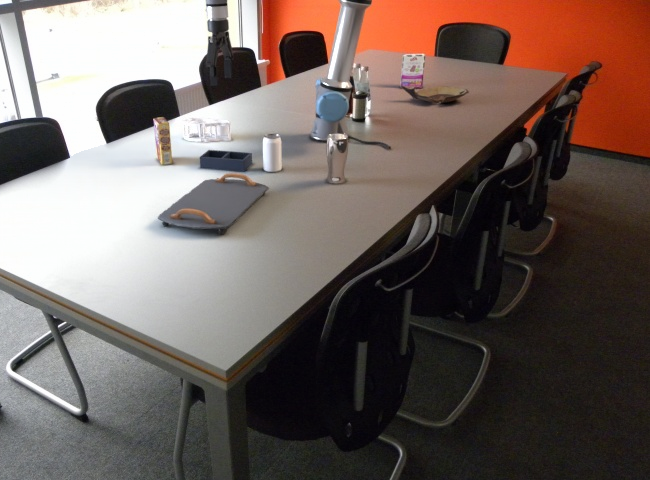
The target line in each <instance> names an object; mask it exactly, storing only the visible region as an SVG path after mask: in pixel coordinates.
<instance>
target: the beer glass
mask: <svg viewBox="0 0 650 480" xmlns="http://www.w3.org/2000/svg"><path fill="white" fill-rule="evenodd" d="M325 150H326V151H325V153H326V161H327V170H328V171H327V177H326V182H327V183H329V184H332V185H339V184H340V185H341V184H344V183H345V182H346V175H345V168H346V163H347V158H348V153H349V138H348V136H347V135H345V134H330V135H328V136H327V142H326V147H325Z"/></svg>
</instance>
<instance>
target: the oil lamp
mask: <svg viewBox="0 0 650 480" xmlns="http://www.w3.org/2000/svg"><path fill="white" fill-rule="evenodd" d="M401 87H402V88H401ZM400 88H401V89H403V90H404V91H405V92H406V93H407V94H409V96H410V97H412V98H413V99H415V100H423V101H426V102H428V103H434V104H440V103H441V104H444V103H449V102H453V101H456V100H457V99H460V98H462V97H464V96H465V95H467V94H469V93H470V91H469V89H466V88H462V87H458V86H433V87H427V88H422V89H419V90H418V91H416V88H415V87H411V88H409V87H406V86H404V85H402V86H401V85H400Z"/></svg>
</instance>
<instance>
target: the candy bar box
mask: <svg viewBox="0 0 650 480" xmlns="http://www.w3.org/2000/svg"><path fill="white" fill-rule="evenodd" d="M401 62H402V63H401V76H400V89H403V88H402V87H401V86H402V85H404V86H422V87H415V89H423V85H424V72H425V62H426V54H425V53H402V60H401ZM409 88H411V87H409Z"/></svg>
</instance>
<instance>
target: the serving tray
mask: <svg viewBox="0 0 650 480" xmlns="http://www.w3.org/2000/svg"><path fill="white" fill-rule="evenodd" d="M269 189H270V187H269V186H268V185H266V184H262V183H259V182H255V181H253V180H252V179H251V178H250V177H249V176H247V175H245V174H243V173H237V172H236V173H235V172H229V173H225V174H223V175H222V176H221V177H220V178H219V177H217V178H210V179H209V178H208V179H205V180H203V181H202V182H200V183H199V184H198V185H197V186H195V187H194V188H192V189H191V190H190V191H188V193H186V194H184V195H183V196H182V197H180V198H179V199H178V200H177V201H175V202H174V203H172V204H171V205H170V206H169V207H168V208H167V209H165V210H164V211H163V212H162V213H160V214H159V215H158V216H157V219H158V220H159V221H160V222H161V224H162V225H163V227H164V228H168V227H169V226H170V225H172V226H176V227H181V228H187V229H195V230H217V231H218V233H219V235H221V236H224V235H225V234H226V233H227V229H229V228H230V227H231V226H233V225H234V224H235V223H236V222H237V221H238V220H239V219H240V218H241V217H242V216H243V215H244V214H245V213H246V212H247V211H248V210H249V209H250V208H251V207H252V206H253V205H254V204H255V203H256V202H257V201H258V200H259V199H260V198H261V197H264V196H265V195H266V192H267V191H269Z"/></svg>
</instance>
